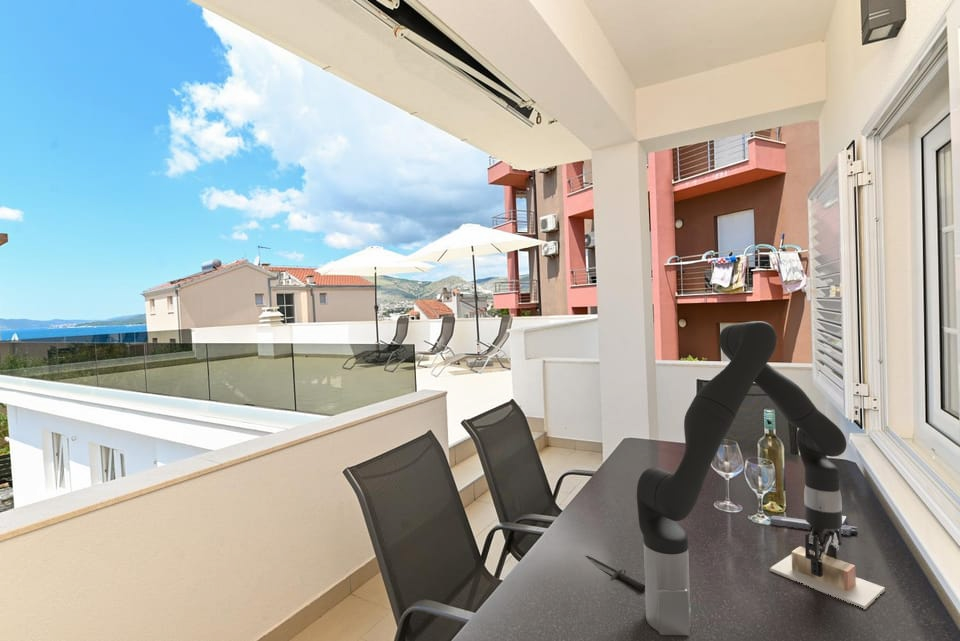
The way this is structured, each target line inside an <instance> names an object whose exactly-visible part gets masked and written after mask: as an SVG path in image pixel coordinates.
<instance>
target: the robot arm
mask: <svg viewBox="0 0 960 641" xmlns="http://www.w3.org/2000/svg"><path fill="white" fill-rule="evenodd" d="M777 340H778V337H777V333H776V330H775V328H774V327H773V325H772V324H770V323H768V322H766V321H759V320H758V321H757V320H756V321H755V320H754V321H747V322H740V323H734V324H731V325H728V326H725V327H724V328H723V329H722V330H721V331H720V334H719V338H718V341H719V342H718V343H719V347H720V349H721V351H722V352H723V354H724V356H726V358H728V360H730V362H729V363H728V364H727V365H726V366H725V367H724V368H723V369H722V370H721V371H720V372H718V373H717V375H715V376H714V377H713V378H712V379H709V381H708V382H706V383H705V384H704V386H702V387H701V388H700V389H699V391H698V392H697V393H696V394H695V396H694V398H693V400H692V401H691V404H690V405H689V407H688V408H687V411H686V413H685V415H684V422H683V430H684V443H685V446H684V447H685V448H684V453H683V456H682V458H681V462H680V463H679V465H678V466H677V469H676V471H675V472H674V473H673V472H670V471H667V470H664V469H661V468H659V467H650V468H649V467H648V468H647V469H645V470H644V471H643V472H642V473H641V474H640V476H639V478H638V482H637V485H636V503H637V504H636V505H637V515H638V516H637V518H638V526H639V529H640V532H641V534H642V537H643V538H642V539H643V563H644V565H643V566H644V570H643V571H644V585H645V591H644V597H645V617H646V621H647V623H648V625H649V626H650V627H651V628H653V629H654V630H656V631H657V632H658V634H659V635H660V636H690V634H691V632H690V631H691V627H692V620H691V619H692V617H691V615H692V614H691V594H690V592H691V591H690V586H691V585H690V564H689V562H690V559H689V556H690V555H689V537H688V534H687V532H686V531H685V530H684V528H683V527H682V526H681V525H680V524H679V523H678V522H680V521H683V520H685V519H686V518H687V517H688V516H689V515H690V514H691V512H692V511H693V510H694V507H695V505H696V503H697V501H698V499H699V496H700V493H701V491H702V489H703V485H704V483H705V480H706V479H707V475H708V473H709V469H710V468H711V465H712V463H713V461H714V459H715V456H716V455H717V452H718V450H719V448H720V447H721V445H722V443H723V440H724V439H725V437H726V435H727V434H728V432H729V430H730V428H731V427H732V424H733V422H734V421H735V418H736V416H737V414H738V411H739V410H740V408H741V406H742V404H743V402H744V400H745V399H746V397H747V396H748V393H750V392H749V391H750V390H751V387H752V386H753V385H754V384H756V386H757V387H759V388H760V390H761V391H763V393H764V394H766V396H767V397H768V398H769V399H770V400H771V402H772V403H773V404H774V405H775V407H776V408H777V409H778V411H779V412H780V413H781V414H782V415H783V417H784V419H786V421H787V422H788V423H789V424H791V426H793V427H795V428H797V433H796V445H797V449H798V452H799V455H800V459H801V462H802V465H803V467H804V491H803V494H804V495H803V497H804V498H803V499H804V520H806V521H807V522H808V523H809V524H810V525H811V526H812V527H813V528H812V530H810V531H811V532H810V533H805V535H804V537H805V539H804V540H805V542H804V543H805V546H804V548H805V557H806V558H807V559H810V560H811V573H812V574H813V575H816V576H818V577H821V576H823V568H822V560H823V556H824V555H826V556H829V557H832V558H835V559H838V551H839V549H840V547H841V546H842V545H843V543H842V542H843V540H842V539H843V538H842V535H841V527H842V516H843V509H842V508H843V507H842V506H843V505H842V504H843V503H842V502H843V501H842V500H843V499H842V494H841V484H840V483H841V482H840V478H841V477H840V470H839V468H838V466H836V464H834V463H833V462H831V461H830V460H829V459H828V457H831V458H833V457H840V456H841V455H842V454H844V452H845V451H846V449H847V437H846V436H845V434H844V432H843V430H841V429H840V427H838V425H836V424H835V423H834V422H833V421H832V420H831V419H830V418H829V417H827V415H825V414H824V413H822V412H821V411H820V410H819V409H818V408H817V406H816V405H815V404H814V403H813V401H812V400H811V399H810V397H809V396H808V395H807V394H806V393H805V391H804V390H803V389H802V388H801V387H800V386H799V385H798V384H797V383H795V381H793V380H791V379H790V378H789V377H787V376H785V375H784V374H783V373H780V372H779V371H778V370H776V369H775V368H774V367H772V366H771V364H769V363H768V362H769V361H770V359H771V357H772V356H773V354H774V352H775V349H776V346H777ZM814 552H815V555H814ZM838 560H839V559H838Z"/></svg>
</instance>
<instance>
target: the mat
mask: <svg viewBox="0 0 960 641" xmlns="http://www.w3.org/2000/svg"><path fill="white" fill-rule="evenodd" d="M769 571H770V572H772V573H774V574H777V575H779V576H781V577H784V578H786V579H789V580H792V581H794V582H796V581H797V582H796V583H799V582H800V584H801V583H803V584H802V585H803V586H806V585H807V587H808V586H809V588H810V589H811V588H812V589H813V588H814V589H813V590H816V591H818V592H821V593H823V594H825V595H828V594H829V595H828V596H830V595H831V597H833V598H835V597H836V599H838V598H839V599H838V600H840V599H841V600H840V601H843V600H844V601H843V602H845V601H846V602H845V603H848V604H850V603H851V604H850V605H852V604H854V605H853V606H855V605H856V606H855V607H857V606H859V607H858V608H860V607H861V608H860V609H862V608H863V609H862V610H866V609H868V607H869V606H870V605H872V604H873V603H874V602H875V601H876V600H877V599H878V598H879V597H880V596H881V595H882V594H883V593H884V592H885V589H886V588H885V586H882V585H879V584H876V583H874V582H871V581H868V580H865V579H863V578H860V577H857V576H856V585H855V586H853V587H852V588H851V589H850V590H849V591H846V590H844V589H841V588H839V587H836V586H833V585H831V584H828V583H826V582H823V581H821V580H818V579H815V578H813V577H810V576H808V575H805V574H803V573H800V572H797V571H795V570H792V553H791V554H789V555H788V556H786V557H785V558H782V559H781V560H780V561H778V562H776V564H774V565H772V566H771V567H770V568H769ZM880 594H881V595H880ZM876 598H877V599H876ZM875 599H876V600H875Z"/></svg>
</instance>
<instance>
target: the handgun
mask: <svg viewBox="0 0 960 641" xmlns="http://www.w3.org/2000/svg"><path fill="white" fill-rule="evenodd" d="M769 521H770V522H769V523H770V524H771V523H772V524H771V525H772V526H779V527H783V526H787V528H791V527H794V528H793V529H798V528H803V529H802V530H805V529H809V530H808V531H812V528H813V527H812V526H811V525H810V524H809V523H808V522H807V521H806V520H805V519H801V518H795V517H789V516H787V517H786V516H780V515H771V516H770V520H769ZM846 521H847V516H846V515H842V527H841V534H843V535H842V536H844V535H850V536H852V535H855V536H857V535H858V533H859V529H858V526H852V525H847V522H846ZM845 523H846V524H845ZM804 528H805V529H804ZM857 532H858V533H857Z"/></svg>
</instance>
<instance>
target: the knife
mask: <svg viewBox="0 0 960 641" xmlns="http://www.w3.org/2000/svg"><path fill="white" fill-rule="evenodd" d="M586 557H587V558H586ZM585 558H586V559H587V560H589V561H590V563H592V565H594V566H595V567H597V568H598V569H600V570H602V571H603V572H606V573H608V574H609V575H611V577H610V579H611V580H612V581H613V580H615V579H617V578H619V579H620V580H622V581H623V582H625V583H626V584H630V585H631V586H633V587H635V588H637V589H638V590H640V591H641V592H645V584H643V583H641V582H640V581H637V580H635V579H633V578H631V577H630V576H629V575H626V573H627V572H626V570H625V568H622V569H619V570H617V569H615V568H613V567H612V566H610V565H607V564H606V563H603V562H602V561H599V560H598V559H596V558H594V557H591V556H589V555H587V556H585ZM623 571H624V572H623Z"/></svg>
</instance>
